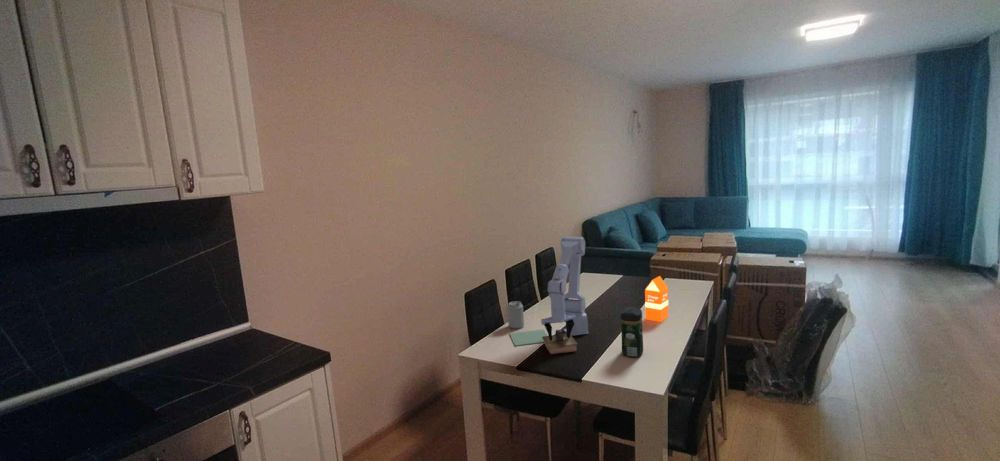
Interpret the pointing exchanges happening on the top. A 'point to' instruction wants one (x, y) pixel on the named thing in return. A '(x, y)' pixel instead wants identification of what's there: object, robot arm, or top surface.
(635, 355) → the coffee jar
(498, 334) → the top surface
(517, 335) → the mat
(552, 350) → the pink square tray
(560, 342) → the cover
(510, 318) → the can
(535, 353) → the top surface
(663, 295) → the orange juice
